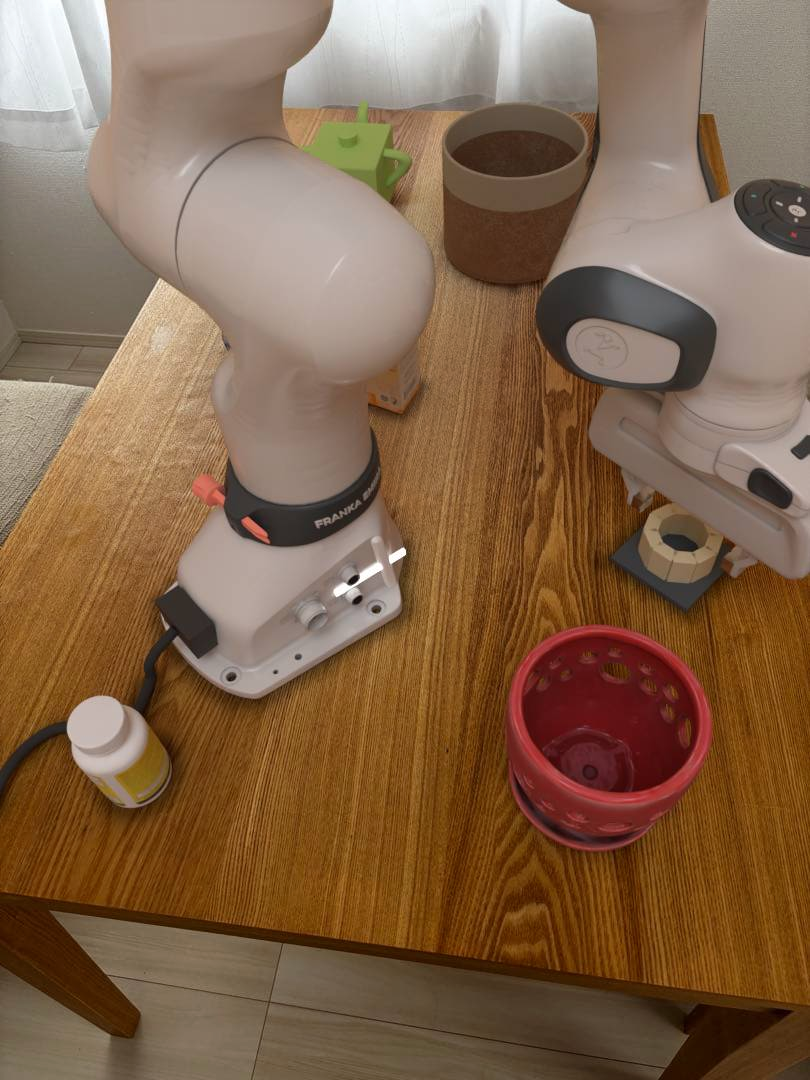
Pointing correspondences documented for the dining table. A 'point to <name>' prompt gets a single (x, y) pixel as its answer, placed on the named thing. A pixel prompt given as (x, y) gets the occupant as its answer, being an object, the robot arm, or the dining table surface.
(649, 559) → the tape roll
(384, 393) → the supplement box
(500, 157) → the planter
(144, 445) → the dining table surface
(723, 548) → the mat
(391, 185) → the teapot
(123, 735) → the supplement bottle
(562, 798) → the flower pot
